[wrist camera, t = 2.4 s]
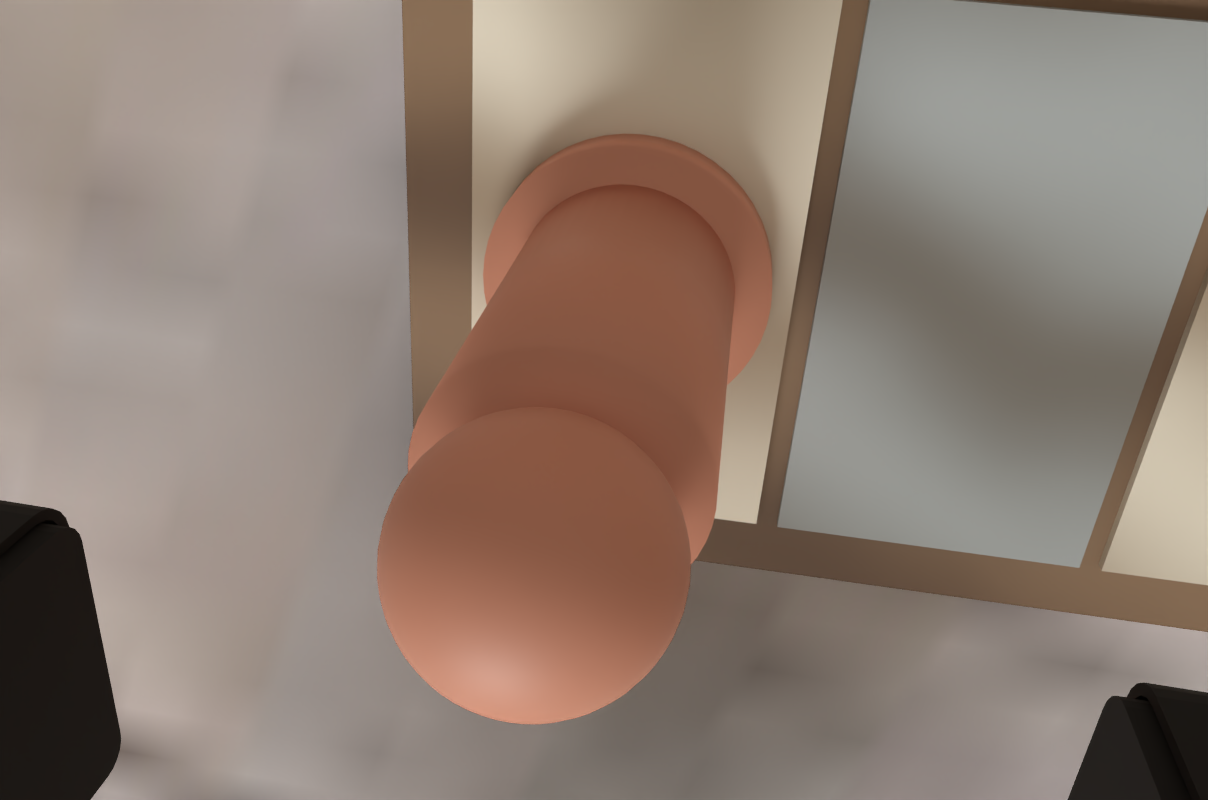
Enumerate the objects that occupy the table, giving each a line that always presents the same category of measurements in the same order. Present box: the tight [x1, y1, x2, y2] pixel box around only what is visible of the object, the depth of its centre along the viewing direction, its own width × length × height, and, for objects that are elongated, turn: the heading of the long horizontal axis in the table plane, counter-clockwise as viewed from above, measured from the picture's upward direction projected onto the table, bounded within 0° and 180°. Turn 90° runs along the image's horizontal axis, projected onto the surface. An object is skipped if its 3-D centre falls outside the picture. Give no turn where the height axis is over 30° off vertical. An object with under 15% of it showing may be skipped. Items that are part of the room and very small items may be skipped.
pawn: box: [377, 134, 772, 724], centre depth 14 cm, size 5×5×10 cm
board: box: [402, 0, 1208, 632], centre depth 18 cm, size 12×26×1 cm, turn 86°
